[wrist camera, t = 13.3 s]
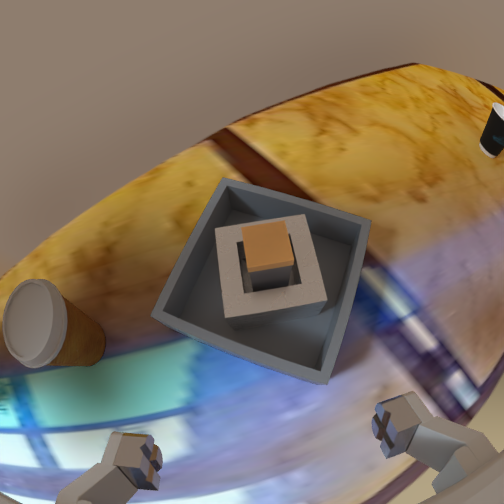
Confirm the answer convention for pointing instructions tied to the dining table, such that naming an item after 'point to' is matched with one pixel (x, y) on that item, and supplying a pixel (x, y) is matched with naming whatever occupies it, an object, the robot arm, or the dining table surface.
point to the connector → (268, 255)
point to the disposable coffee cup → (49, 328)
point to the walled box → (279, 334)
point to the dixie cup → (493, 132)
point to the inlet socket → (273, 300)
